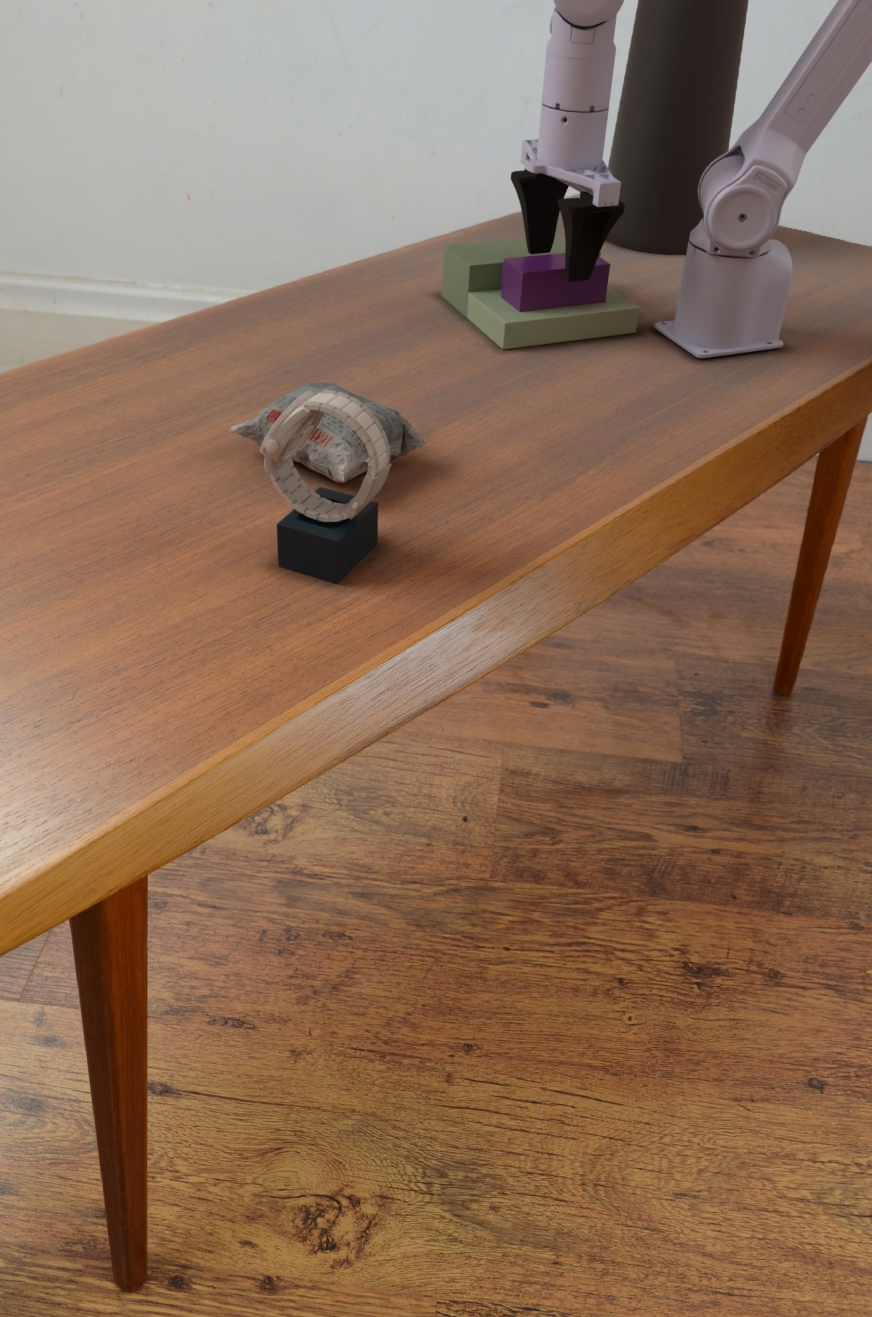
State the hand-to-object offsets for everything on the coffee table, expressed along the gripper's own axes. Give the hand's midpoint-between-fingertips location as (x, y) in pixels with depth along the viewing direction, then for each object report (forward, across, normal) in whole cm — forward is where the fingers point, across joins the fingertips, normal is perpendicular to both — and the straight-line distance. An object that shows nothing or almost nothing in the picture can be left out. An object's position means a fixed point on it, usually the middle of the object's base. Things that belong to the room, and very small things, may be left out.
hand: (558, 265), depth 105 cm
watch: (+6, +32, -33) cm, 46 cm away
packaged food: (+6, +20, -29) cm, 36 cm away
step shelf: (+6, -4, 0) cm, 7 cm away
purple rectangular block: (+3, 0, 0) cm, 3 cm away
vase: (+6, -22, +25) cm, 33 cm away
